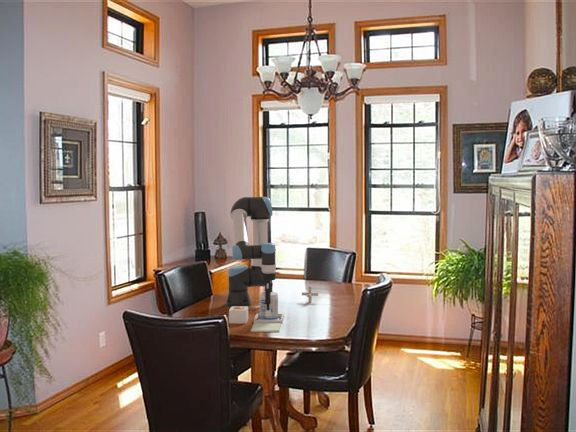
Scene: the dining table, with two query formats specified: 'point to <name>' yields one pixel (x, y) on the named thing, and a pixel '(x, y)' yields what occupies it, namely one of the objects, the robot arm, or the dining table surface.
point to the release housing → (238, 314)
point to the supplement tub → (273, 306)
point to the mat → (266, 327)
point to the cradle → (269, 320)
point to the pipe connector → (310, 294)
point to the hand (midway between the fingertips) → (269, 313)
